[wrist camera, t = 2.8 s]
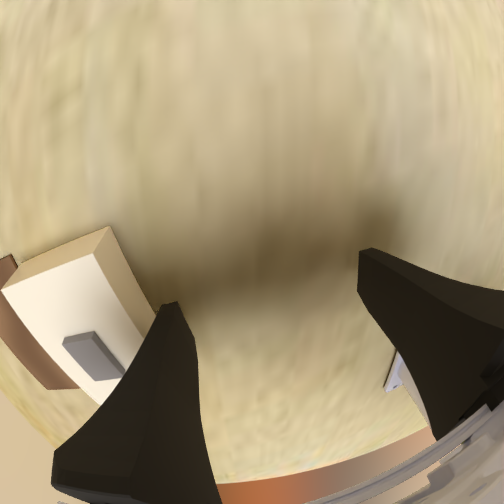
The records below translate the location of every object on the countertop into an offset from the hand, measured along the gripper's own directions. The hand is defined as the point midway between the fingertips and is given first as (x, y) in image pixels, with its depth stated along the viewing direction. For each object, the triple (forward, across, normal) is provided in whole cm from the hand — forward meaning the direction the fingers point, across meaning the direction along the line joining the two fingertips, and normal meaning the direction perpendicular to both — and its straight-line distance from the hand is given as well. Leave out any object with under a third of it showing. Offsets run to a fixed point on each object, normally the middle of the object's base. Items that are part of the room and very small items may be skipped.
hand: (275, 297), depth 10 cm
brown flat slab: (+1, +13, 0) cm, 13 cm away
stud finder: (+2, +8, 0) cm, 8 cm away
